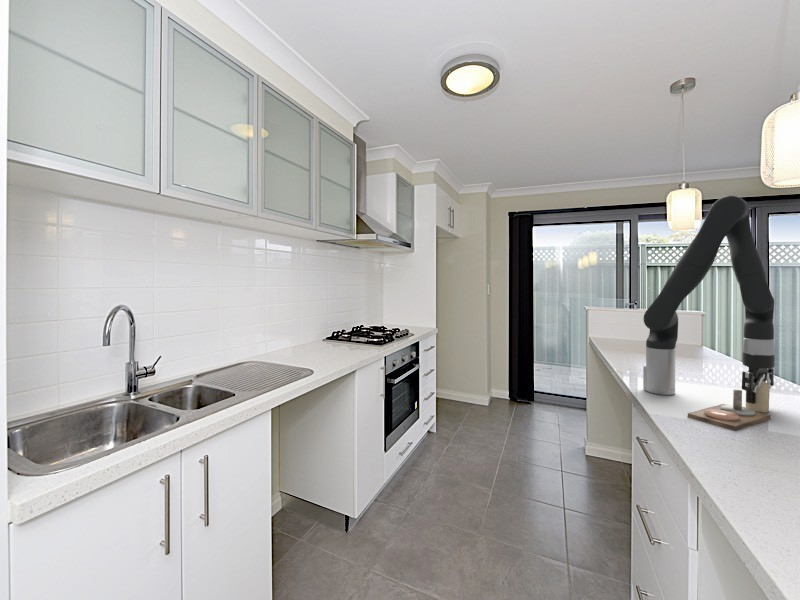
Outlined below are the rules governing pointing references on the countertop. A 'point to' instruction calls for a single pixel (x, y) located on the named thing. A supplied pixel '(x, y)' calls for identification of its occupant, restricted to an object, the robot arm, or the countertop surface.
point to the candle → (761, 399)
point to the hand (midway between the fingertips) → (757, 401)
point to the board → (745, 414)
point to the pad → (722, 415)
